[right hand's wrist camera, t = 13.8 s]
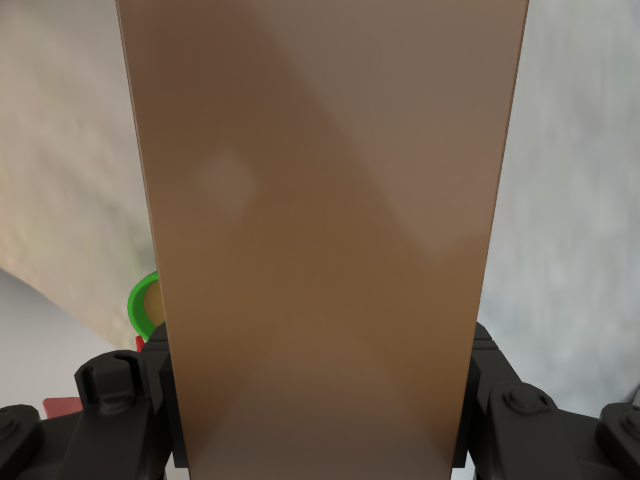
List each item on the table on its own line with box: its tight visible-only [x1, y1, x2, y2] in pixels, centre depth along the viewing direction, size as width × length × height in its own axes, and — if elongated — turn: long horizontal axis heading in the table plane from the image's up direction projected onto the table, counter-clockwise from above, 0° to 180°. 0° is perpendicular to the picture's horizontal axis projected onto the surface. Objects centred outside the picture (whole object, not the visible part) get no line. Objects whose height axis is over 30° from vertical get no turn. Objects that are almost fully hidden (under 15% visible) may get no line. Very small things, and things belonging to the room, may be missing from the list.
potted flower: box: [43, 271, 165, 419], centre depth 29 cm, size 9×8×25 cm
